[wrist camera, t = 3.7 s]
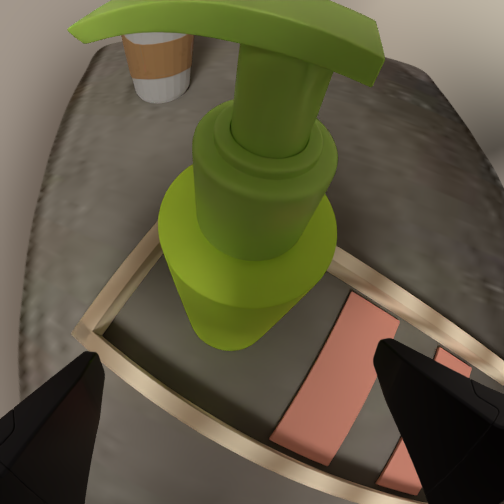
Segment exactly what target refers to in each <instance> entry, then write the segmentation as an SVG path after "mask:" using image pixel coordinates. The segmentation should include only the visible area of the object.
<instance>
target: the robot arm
mask: <svg viewBox="0 0 504 504" xmlns="http://www.w3.org/2000/svg"><path fill="white" fill-rule="evenodd" d="M373 365H374V368H375V371H376V374H377V377H378V380H379V383H380V386H381V389H382V392H383V395H384V398H385V400H386V403H387V405H388V407H389V409H390V412H391V414H392V416H393V418H394V421H395V423H396V425H397V427H398V430H399V432H400V434H401V437H402V439H403V441H404V444H405V446H406V448H407V451H408V453H409V456H410V458H411V460H412V463H413V465H414V468H415V470H416V473H417V475H418V478H419V480H420V483H421V485H422V488H423V490H424V493H425V495H426V499H427V501H428V504H504V394H502V393H500V392H498V391H495V390H493V389H490V388H488V387H486V386H484V385H482V384H480V383H478V382H476V381H474V380H472V379H471V380H470V378H468V377H466V376H464V375H462V374H460V373H458V372H456V371H454V370H452V369H450V368H448V367H446V366H444V365H443V364H441V363H439V362H437V361H435V360H433V359H431V358H429V357H427V356H425V355H423V354H421V353H419V352H417V351H415V350H413V349H411V348H409V347H408V346H406V345H404V344H402V343H400V342H398V341H396V340H394V339H392V338H386V339H381V340H380V341H379V342H378V345H377V348H376V351H375V354H374V357H373ZM104 380H105V373H104V369H103V366H102V363H101V360H100V357H99V355H98V353H97V352H91V351H85V352H83V353H82V354H81V355H79V356H78V357H77V358H76V359H74V360H73V361H72V362H70V363H69V364H68V365H67V366H65V367H64V368H63V369H62V370H60V371H59V372H58V373H57V374H55V375H54V376H53V377H52V378H50V379H49V380H48V381H46V382H45V383H44V384H43V385H41V386H40V387H39V388H38V389H37V390H35V391H34V392H33V393H32V394H30V395H29V396H28V397H27V398H25V399H24V400H23V401H22V402H20V403H19V404H18V405H17V406H15V407H14V410H13V409H12V410H10V411H9V412H8V413H7V414H6V415H5V416H3V417H2V418H1V419H0V504H85V497H86V490H87V483H88V477H89V471H90V465H91V459H92V454H93V449H94V444H95V439H96V434H97V429H98V425H99V420H100V413H101V403H102V395H103V387H104Z"/></svg>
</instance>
